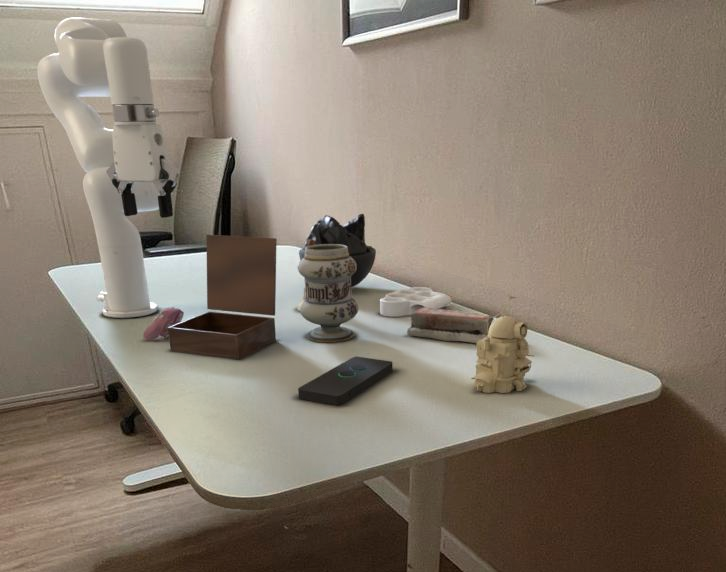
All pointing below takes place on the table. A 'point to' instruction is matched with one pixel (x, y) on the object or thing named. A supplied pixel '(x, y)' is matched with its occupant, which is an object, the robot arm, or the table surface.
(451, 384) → the table surface
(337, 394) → the smart home device
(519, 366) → the robot
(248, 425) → the table surface
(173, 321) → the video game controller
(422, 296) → the white lobed tray
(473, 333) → the packaged product
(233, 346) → the box
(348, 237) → the bowl of black rocks
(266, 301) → the box lid
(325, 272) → the apothecary jar
